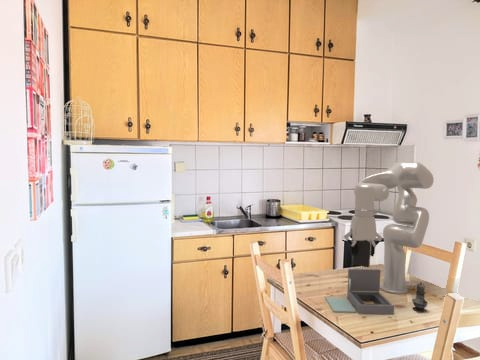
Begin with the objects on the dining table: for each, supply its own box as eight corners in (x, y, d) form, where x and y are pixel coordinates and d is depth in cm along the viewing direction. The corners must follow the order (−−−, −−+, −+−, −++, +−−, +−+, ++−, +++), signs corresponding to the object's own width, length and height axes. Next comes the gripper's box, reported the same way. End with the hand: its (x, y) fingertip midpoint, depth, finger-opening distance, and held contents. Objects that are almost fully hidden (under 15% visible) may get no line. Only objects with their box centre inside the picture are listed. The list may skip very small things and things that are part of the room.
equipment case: (378, 298, 159) (379, 269, 158) (393, 314, 143) (395, 281, 142) (347, 298, 159) (348, 268, 158) (359, 313, 143) (360, 281, 142)
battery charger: (371, 266, 149) (373, 239, 148) (369, 268, 146) (370, 240, 145) (355, 262, 153) (356, 236, 153) (352, 264, 150) (353, 238, 150)
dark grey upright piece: (409, 306, 151) (410, 279, 150) (423, 307, 151) (424, 279, 150) (415, 312, 145) (417, 283, 144) (430, 313, 145) (431, 284, 144)
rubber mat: (345, 299, 158) (345, 297, 158) (355, 312, 144) (355, 311, 144) (325, 298, 158) (325, 297, 158) (333, 312, 144) (333, 310, 144)
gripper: (380, 213, 152) (378, 253, 153) (340, 212, 152) (339, 252, 153) (388, 215, 145) (386, 258, 146) (346, 214, 145) (344, 257, 145)
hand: (362, 255), depth 149 cm, fingers closed on battery charger, 7 cm apart
